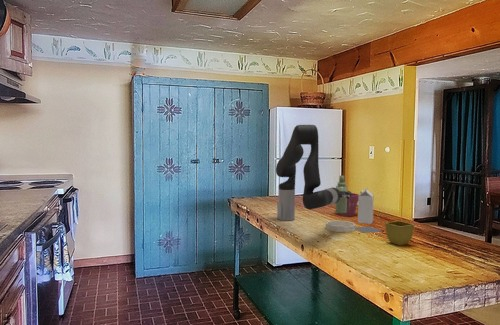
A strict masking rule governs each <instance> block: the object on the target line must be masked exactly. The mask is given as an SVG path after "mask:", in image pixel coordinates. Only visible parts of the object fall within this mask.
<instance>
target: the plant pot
mask: <svg viewBox="0 0 500 325" xmlns="http://www.w3.org/2000/svg"><path fill="white" fill-rule="evenodd" d="M359 195H360V194H359V193H355V192H351V198H349V199H348V198H347V213H338V215H339V216H341V217H354V216H355V214H356V209H357V207H358V196H359Z"/></svg>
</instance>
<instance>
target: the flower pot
mask: <svg viewBox="0 0 500 325" xmlns="http://www.w3.org/2000/svg"><path fill="white" fill-rule="evenodd" d="M384 227H385V234H386V238H388V241H389V242H390V243H391V244H395V245H397V246H403V245H408V244H409V243H410V242H411V240H412V238H413V234H414V230H415V224H414V223H409V222H406V221H401V220H394V221H388V222H384Z"/></svg>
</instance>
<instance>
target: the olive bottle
mask: <svg viewBox="0 0 500 325" xmlns="http://www.w3.org/2000/svg"><path fill="white" fill-rule="evenodd" d="M338 177H339V178H338V181H337V185H336V186H335V188H337V189H338V190H339V191H345V192H346V191H348V186H347V182H345V175H339V176H338ZM345 194H346V193H345ZM334 210H335V213H338V214H339V213H347V198H346V197H345V198H341V199H340V200H339V201H338V202H337V203H335V209H334Z"/></svg>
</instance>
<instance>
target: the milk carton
mask: <svg viewBox="0 0 500 325" xmlns="http://www.w3.org/2000/svg"><path fill="white" fill-rule="evenodd" d="M359 193H360V194H359V196H358V203H357V207H358V208H357V223H359V224H367V225H368V224H369V225H371V224H373V221H374V194H373V193H372V192H370V191H369V190H368V187H366V188H365V189H362V190H361V191H360V192H359Z"/></svg>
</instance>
